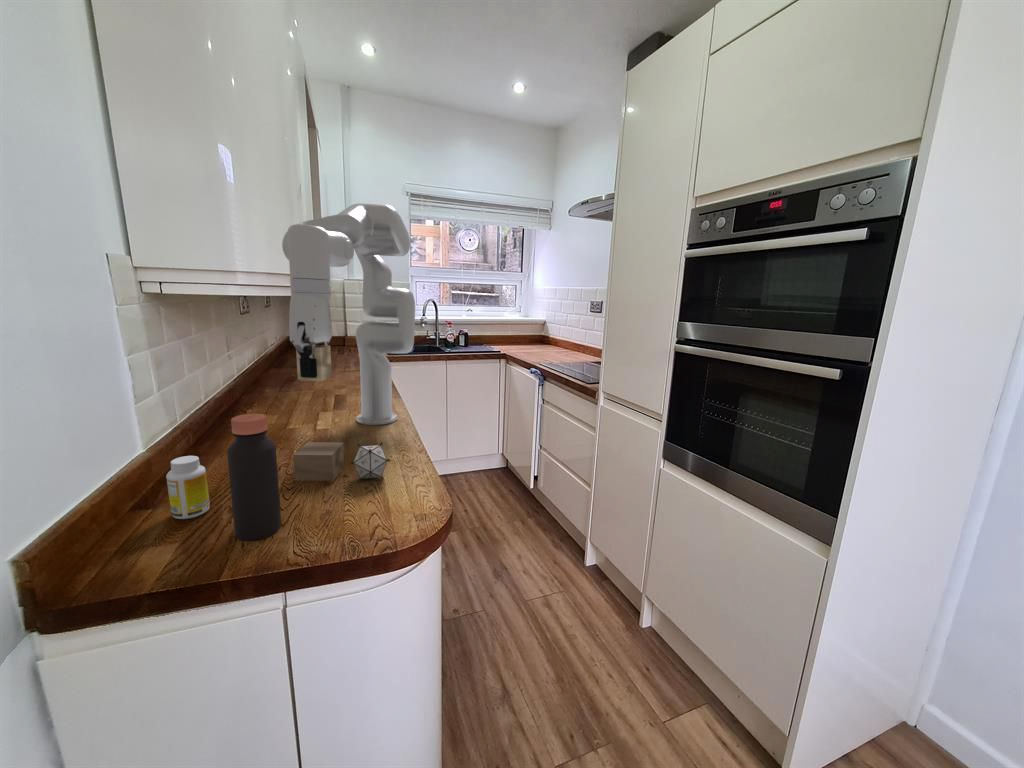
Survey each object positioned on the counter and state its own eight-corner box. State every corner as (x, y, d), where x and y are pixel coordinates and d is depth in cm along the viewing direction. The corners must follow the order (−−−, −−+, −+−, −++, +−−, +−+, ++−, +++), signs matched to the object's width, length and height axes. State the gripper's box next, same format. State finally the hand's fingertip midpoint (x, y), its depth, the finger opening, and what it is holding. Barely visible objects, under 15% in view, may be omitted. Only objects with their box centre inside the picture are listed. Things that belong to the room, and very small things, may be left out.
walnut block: (308, 466, 98) (307, 442, 97) (344, 466, 99) (343, 442, 97) (294, 480, 90) (293, 454, 89) (333, 481, 91) (332, 455, 90)
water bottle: (286, 531, 71) (279, 418, 67) (240, 546, 66) (229, 426, 62) (274, 515, 76) (266, 409, 72) (230, 529, 71) (219, 416, 67)
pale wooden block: (308, 376, 92) (307, 344, 91) (331, 376, 92) (330, 345, 91) (297, 380, 87) (295, 347, 86) (321, 381, 87) (320, 348, 86)
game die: (375, 497, 92) (374, 474, 85) (342, 479, 93) (338, 456, 86) (398, 466, 98) (399, 443, 91) (366, 450, 99) (365, 426, 92)
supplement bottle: (215, 504, 79) (210, 453, 77) (201, 519, 73) (195, 464, 71) (181, 506, 77) (174, 454, 75) (164, 521, 72) (157, 466, 70)
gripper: (311, 289, 94) (315, 368, 98) (269, 286, 78) (276, 381, 81) (344, 290, 95) (347, 369, 98) (310, 288, 78) (314, 383, 81)
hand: (315, 374), depth 90 cm, fingers closed on pale wooden block, 5 cm apart
